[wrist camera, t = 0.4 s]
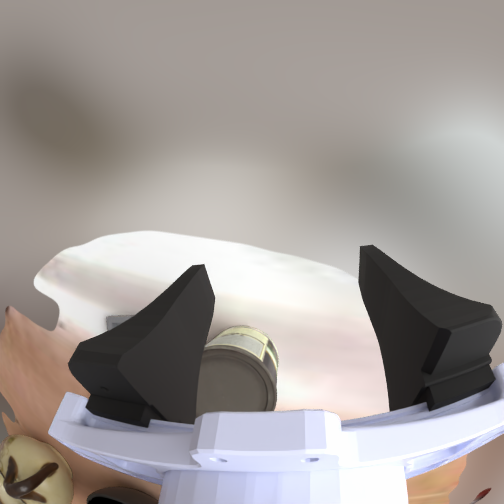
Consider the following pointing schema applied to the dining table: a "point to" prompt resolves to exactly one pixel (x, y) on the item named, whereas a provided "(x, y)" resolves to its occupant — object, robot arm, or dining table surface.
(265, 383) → the coffee can
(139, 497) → the bowl of black rocks
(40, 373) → the dining table surface
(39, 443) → the pitcher
